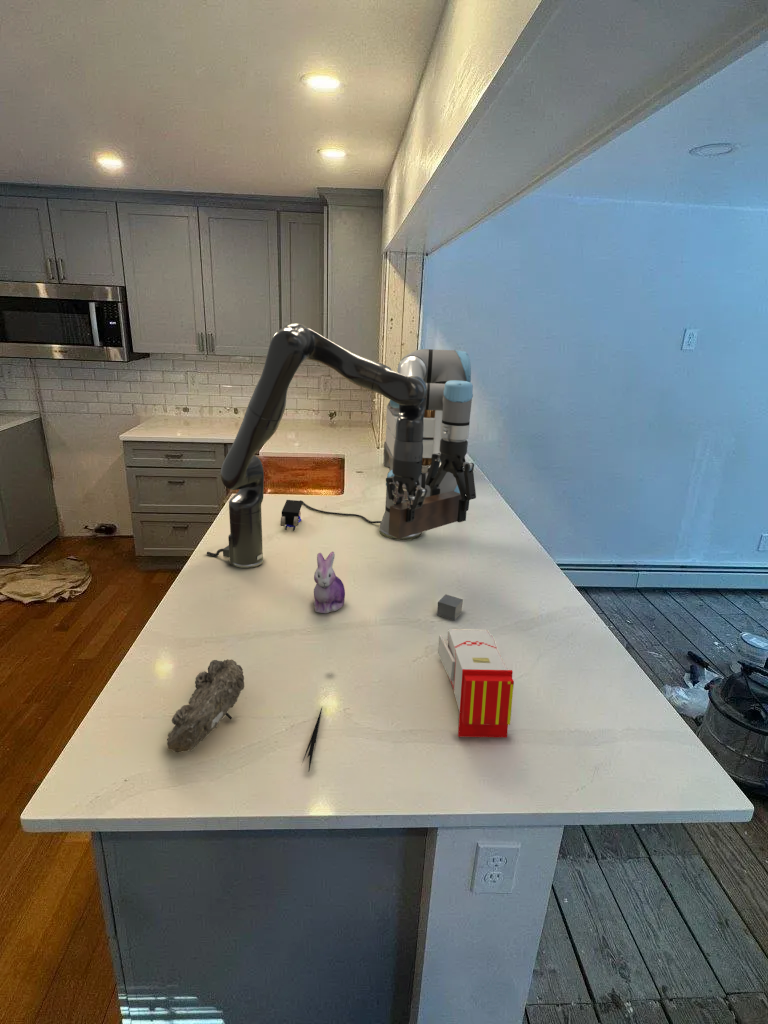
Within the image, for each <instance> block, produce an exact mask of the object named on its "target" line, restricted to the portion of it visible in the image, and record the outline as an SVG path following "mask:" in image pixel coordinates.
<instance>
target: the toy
mask: <svg viewBox="0 0 768 1024" xmlns="http://www.w3.org/2000/svg"><path fill="white" fill-rule="evenodd" d="M446 640H447V643H446V641H445V639H444V636H443V635H442V634H439V637H438V646H437V656H438V657H439V659H440V661H441V663H442V666H443V668H444V670H445V672H446V674H447V677H448V679H449V681H450V684H451V687H452V690H453V693H454V697H455V701H456V705H457V708H458V711H459V714H458V715H459V716H458V730H457V731H458V732H457V737H458V738H508V731H509V726H510V725H511V717H512V707H513V697H514V696H513V695H514V684H515V680H514V679H513V673H514V671H513V670H512V669H508V667H507V665H506V662H505V661H504V659H503V658H502V655H501V653H500V651H499V649H498V647H497V643H496V639H495V637H494V635H493V634H491V632H490V631H489V629H467V628H466V629H465V628H463V629H461V628H460V629H459V628H448V630H447V639H446Z"/></svg>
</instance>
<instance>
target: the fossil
mask: <svg viewBox="0 0 768 1024" xmlns="http://www.w3.org/2000/svg"><path fill="white" fill-rule="evenodd" d="M243 670H244V669H243V667H242V665H240V664H237V662H236V661H235V660H234V659H232V658H231V659H227V658H226V659H224V660H223V661H222V660H217V659H212V660H211V661H210V663H209V665H208V666H207V671H201V672H199V673H198V674H197V675H196V676H195V680H194V684H195V685H194V687H195V689H194V690H193V693H192V694H191V697H190V698H189V700H188V704H184V705H182V706H181V707H180V709H177V710H176V711H175V713H174V715H173V716H172V718H171V723H172V724H173V727H172V730H171V731H170V732H168V734H167V738H166V741H167V742H166V745H167V749H168V750H169V751H173V752H174V753H176V754H178V753H182V752H188V751H189V752H192V751H193V750H195V748H196V747H197V746H199V744H200V743H201V742H203V741H204V740H205V739H206V738H207V737H208V736H209V735H210V734H211V733H212V732H214V730H215V729H217V727H218V726H219V724H220V722H221V721H222V720H223V719H224V718H225V716H226V717H227V719H229V720H233V717H232V715H230V714H229V710H230V709H231V708H234V706H235V704H236V703H237V702H238V699H239V697H240V695H241V693H242V691H243V690H245V689H244V688H245V675H244V671H243Z"/></svg>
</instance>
